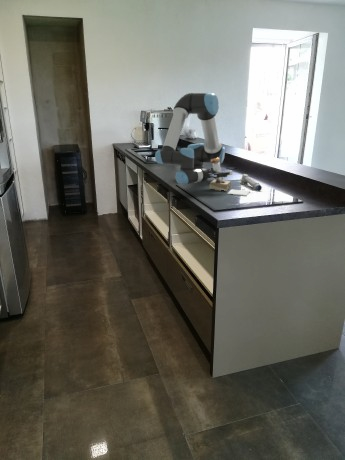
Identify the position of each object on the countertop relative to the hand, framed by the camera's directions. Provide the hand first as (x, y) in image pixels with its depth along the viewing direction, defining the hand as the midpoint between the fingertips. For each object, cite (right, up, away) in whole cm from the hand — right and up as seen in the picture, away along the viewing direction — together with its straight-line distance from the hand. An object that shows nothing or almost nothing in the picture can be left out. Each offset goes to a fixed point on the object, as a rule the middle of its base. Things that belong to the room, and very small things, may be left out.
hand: (226, 171), depth 213 cm
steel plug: (-3, -10, 0) cm, 10 cm away
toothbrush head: (+17, -9, +8) cm, 20 cm away
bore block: (-4, -10, +1) cm, 11 cm away
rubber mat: (+6, -14, -10) cm, 19 cm away
